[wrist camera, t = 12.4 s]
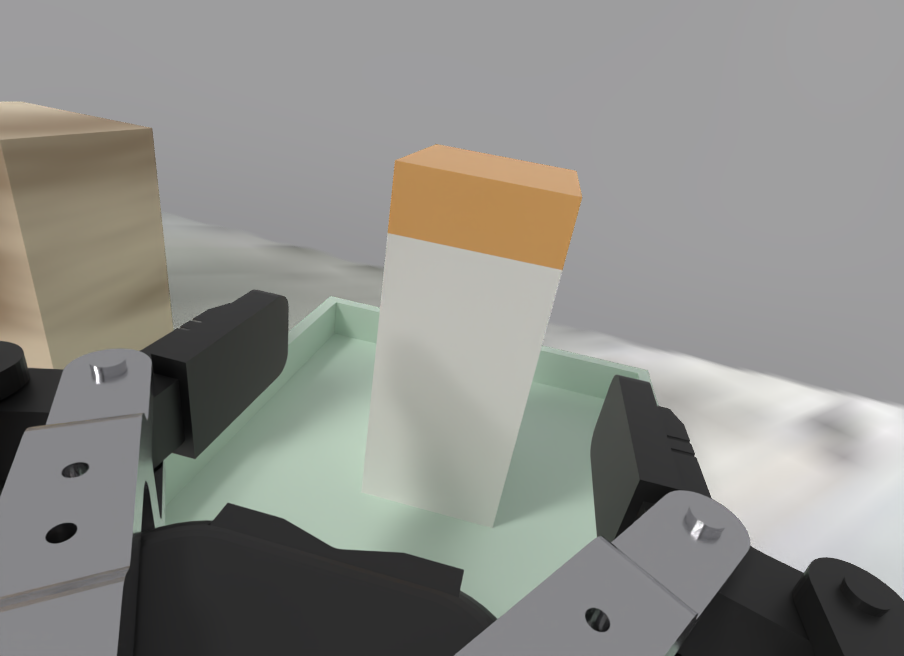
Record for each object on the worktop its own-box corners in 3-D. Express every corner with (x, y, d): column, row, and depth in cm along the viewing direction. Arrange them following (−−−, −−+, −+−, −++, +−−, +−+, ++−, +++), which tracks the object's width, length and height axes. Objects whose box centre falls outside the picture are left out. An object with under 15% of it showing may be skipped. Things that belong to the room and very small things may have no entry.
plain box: (-39, 465, 18) (-172, 103, 13) (81, 392, 22) (20, 101, 17) (84, 502, 17) (-1, 139, 12) (182, 419, 22) (151, 128, 16)
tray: (56, 616, 14) (35, 547, 13) (328, 338, 30) (330, 295, 29) (719, 837, 12) (771, 780, 11) (631, 412, 28) (647, 370, 27)
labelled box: (361, 492, 19) (394, 160, 13) (399, 415, 23) (436, 144, 18) (492, 528, 18) (582, 196, 13) (505, 442, 23) (576, 171, 17)
